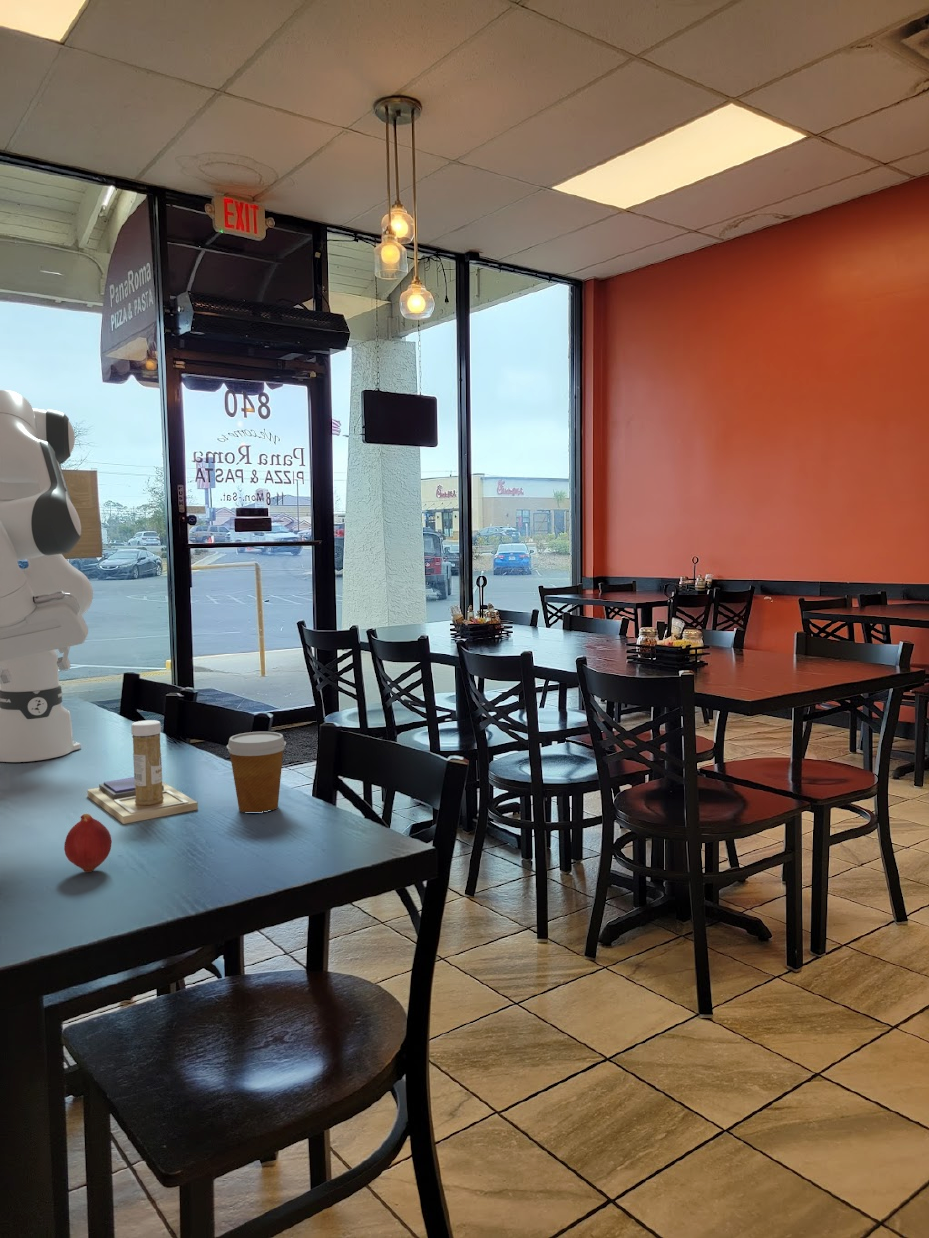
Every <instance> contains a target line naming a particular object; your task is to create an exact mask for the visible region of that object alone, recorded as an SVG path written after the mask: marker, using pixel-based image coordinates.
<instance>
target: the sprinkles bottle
mask: <svg viewBox="0 0 929 1238" xmlns="http://www.w3.org/2000/svg"><path fill="white" fill-rule="evenodd" d="M130 728H131V730H130V731H131V737H132V745H133V754H132V755H133V756H132V757H133V758H132V759H133V760H132V761H133V777H134V780H135V791H136V799H135V803H136V804H138V805H154V804H157V803H160V802H162V801H163V799H164V797H163V790H162V782H163V766H162V752H161V733H162V725H161V721H159V720H157V719H155V720H154V719H148V720H147V719H146V720H138V721H135V722H133V723H131V727H130Z"/></svg>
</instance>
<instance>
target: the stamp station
mask: <svg viewBox="0 0 929 1238" xmlns="http://www.w3.org/2000/svg"><path fill="white" fill-rule="evenodd" d="M98 785H99V786H98V787H94V788H89V789H87V790H86V792H87V793H86V794H87V797H88V798H89V799H90V800H91V801H93V802H94V803H95V804H97V805H98V806H99V807H101V808H102V809H103V810H105V811H106V812H107V813H109V814H110V815H111V816H112V817H114V818H115V819H116V820H118V821H119V822H120V823H122V825H125V824H131V823H136V822H141V821H145V820H150V819H156V818H157V819H158V818H160V817H161V818H162V817H167V816H171V815H176V814H181V813H187V812H192V811H197V810H198V809H199V805H198V804H199V803H198V801H196V800H195V799H193V798H191V797H189V796H187V795H186V794H184V793H183V792H181V791H179V790H177V789H176V788H175V787H173V786H171V785H168V784H167V783H166V782H163V781H162V790H163V797H164V799H163V801H162V802H160V803H157V804H154V805H138V804H136V803H135V799H136V791H135V780H134V776H133V777H126V778H121V779H116V780H115V779H114V780H110V781H103V783H99V784H98Z"/></svg>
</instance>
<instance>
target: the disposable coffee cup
mask: <svg viewBox="0 0 929 1238" xmlns="http://www.w3.org/2000/svg"><path fill="white" fill-rule="evenodd" d="M286 745H287V741H285V739H284V735H283V734H282V733H280V732H275V731H252V732H251V731H250V732H244V733H238V734H235V735H232V736H230V737H229V739H228V744H227V745H226V749H227V750H228V753H229V756H230V762H231V769H232V774H233V781H234V788H235V792H236V800H237V805H238V806H237V807H238V811H239V810H240V811H242V812H262V811H263V812H264V811H268V810H274V809H276V808H277V807H279V799H280V798H279V797H280V789H281V777H282V766H283V755H284V750H285V747H286ZM277 809H278V808H277ZM277 809H276V810H277ZM240 811H239V812H240ZM274 811H275V810H274ZM242 812H241V813H242Z"/></svg>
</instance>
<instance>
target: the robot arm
mask: <svg viewBox="0 0 929 1238" xmlns="http://www.w3.org/2000/svg"><path fill="white" fill-rule="evenodd" d="M75 435H76V434H75V430H74V427H73V425H72V424H71V421H70V419H69V417H68V416H67V415H66V413H64V412H62V411H59V410H56V409H55V410H54V409H50V408H47V409H46V410H45V409H39V408H33V406H32V404H31V403H30V402H29V400H28V399H27V398H26V397H24V396H23V395H21V394H20V393H17V392H16V391H13V390H7V389H0V762H4V763H5V762H6V763H21V762H23V763H25V762H35V761H43V760H50V759H54V758H58V757H62V756H66V755H68V754H69V753H71V752H73V751H77V750H80V749H82V744H81V742H77V741H74V736H73V735H74V734H73V727H72V726H73V725H72V716H71V711H70V710H68V709H67V708H66V707H64V706H63V705H62V702H63V691H62V686H61V685H60V677H59V674H60V673H59V672H62V671H64V672H65V671H67V670H70V669H71V661H70V660H69V657H68V656H69V652H70V649H71V647H72V646H73V647H74V646H78V645H82V644H84V643H85V641H86V640H87V637H88V634H89V628H88V625H87V623H86V622H87V621H85V618H84V615H85V614H86V612H87V611H88V610H89V609H90V607H91V605H92V603H93V599H94V590H93V586H92V584H91V581H90V580H89V577H87V575H85V573H83V572H82V571H80V570H79V569H77V568H76V567H75V566H73V565H72V564H71V563H70V562H69V561H68V560H67V559H66V558H65V557H64V555H63V554H69V553H70V552H71V551H72V550H73V549H74V548H75V546H76V545H77V544H78V543H79V541H80V539H81V538H82V523H81V519H80V517H79V513H78V512H77V510H76V508H75V505H74V504H73V503H72V497H71V495H70V491H69V489H68V485H67V482H66V479H65V475H64V472H63V470H62V466H61V464H63V463H65V462H66V461H67V460H68V459H70V457H71V454H72V452H73V450H74V447H75V442H76V437H75ZM24 560H26V561H27V563H28V566H27V567H25V568H20V564H19V562H20V561H24ZM57 650H58V652H59V654H63V655H62V656H59V657H58V652H57Z"/></svg>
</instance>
